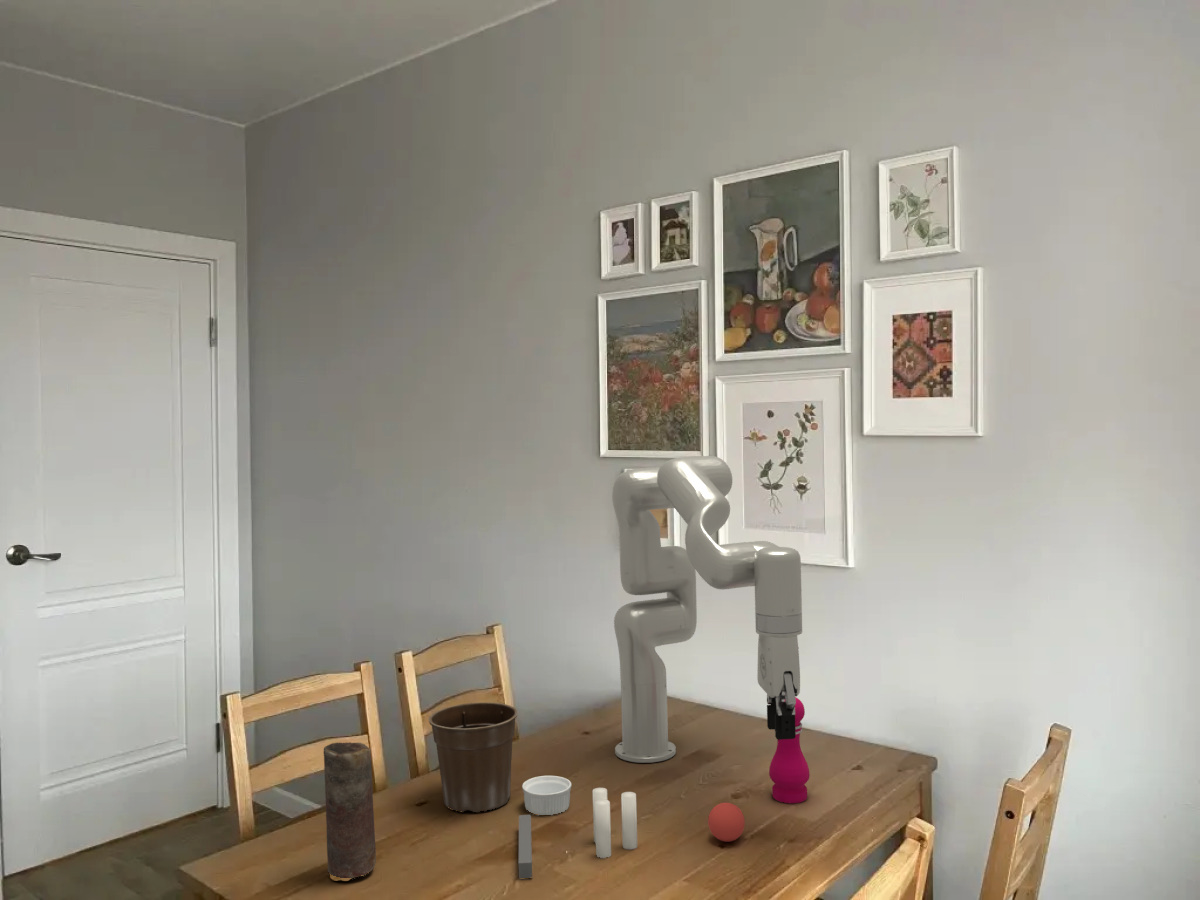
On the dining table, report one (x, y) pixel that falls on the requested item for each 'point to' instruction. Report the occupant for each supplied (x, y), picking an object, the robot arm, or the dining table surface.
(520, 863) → the gray square bar
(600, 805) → the pin
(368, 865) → the candle
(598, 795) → the pin
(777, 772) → the pepper mill
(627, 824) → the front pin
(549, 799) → the ramekin
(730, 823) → the ball
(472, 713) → the plant pot
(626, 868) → the dining table surface
